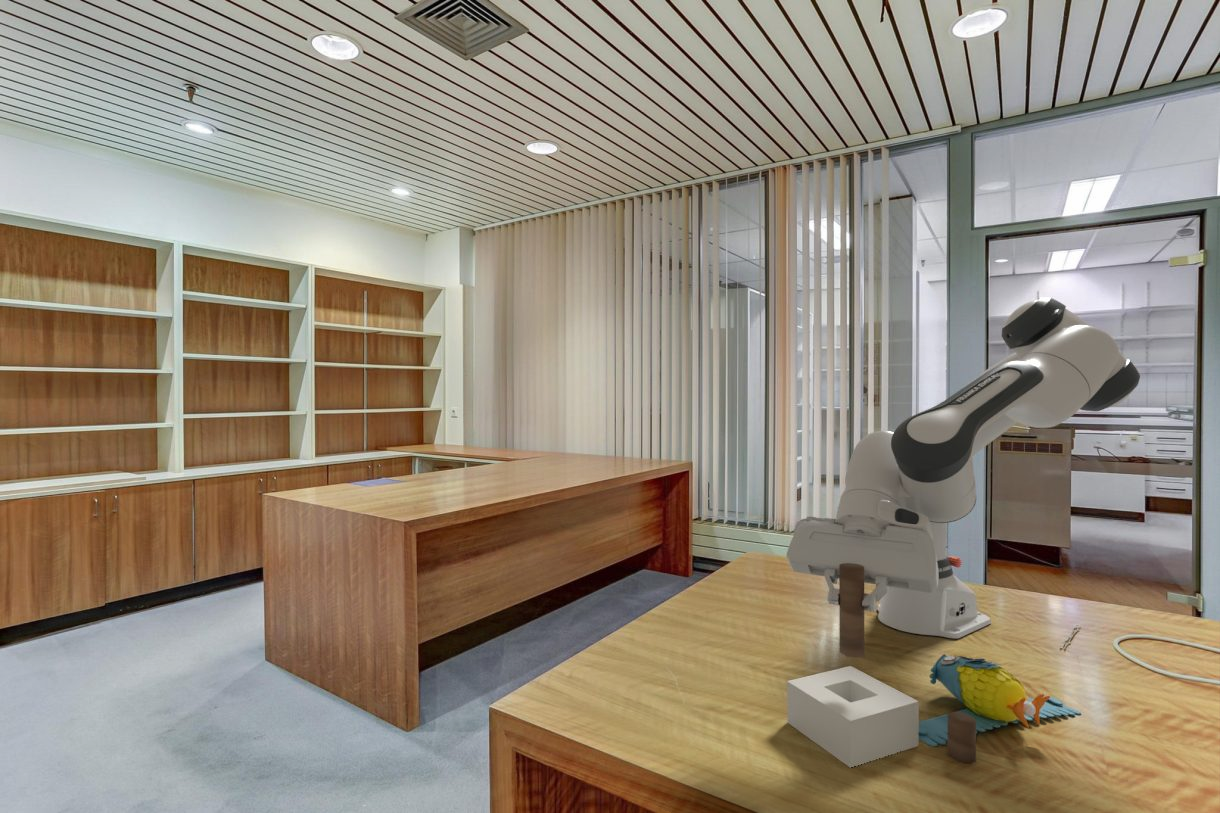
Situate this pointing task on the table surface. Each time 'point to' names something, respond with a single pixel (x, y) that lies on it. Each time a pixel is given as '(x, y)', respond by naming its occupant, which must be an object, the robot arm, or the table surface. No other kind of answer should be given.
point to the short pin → (962, 737)
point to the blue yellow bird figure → (985, 698)
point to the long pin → (851, 609)
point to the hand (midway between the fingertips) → (850, 606)
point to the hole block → (853, 715)
